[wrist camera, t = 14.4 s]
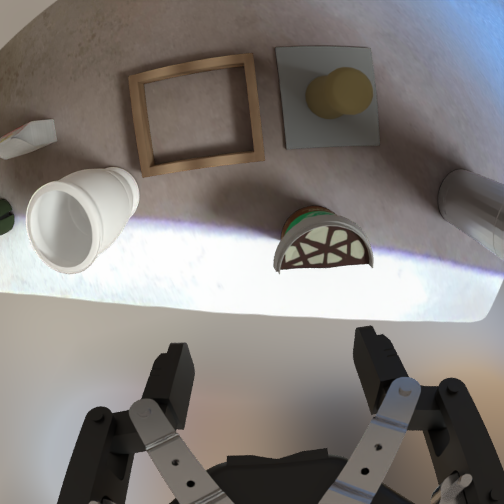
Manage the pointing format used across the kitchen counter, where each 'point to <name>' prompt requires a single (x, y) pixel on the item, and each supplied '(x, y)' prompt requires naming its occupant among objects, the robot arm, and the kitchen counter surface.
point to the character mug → (5, 217)
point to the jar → (80, 216)
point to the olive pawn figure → (339, 93)
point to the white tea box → (27, 138)
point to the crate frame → (184, 69)
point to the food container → (321, 241)
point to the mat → (295, 106)
